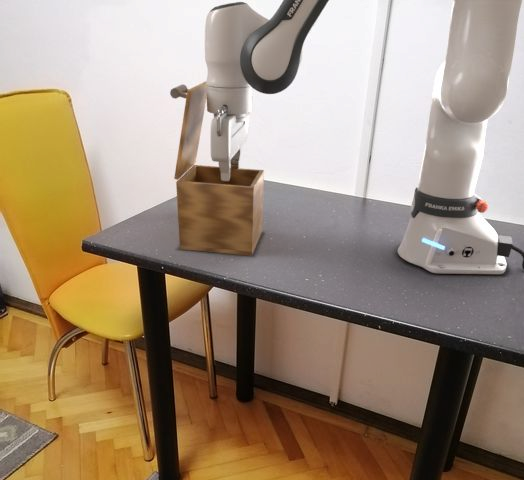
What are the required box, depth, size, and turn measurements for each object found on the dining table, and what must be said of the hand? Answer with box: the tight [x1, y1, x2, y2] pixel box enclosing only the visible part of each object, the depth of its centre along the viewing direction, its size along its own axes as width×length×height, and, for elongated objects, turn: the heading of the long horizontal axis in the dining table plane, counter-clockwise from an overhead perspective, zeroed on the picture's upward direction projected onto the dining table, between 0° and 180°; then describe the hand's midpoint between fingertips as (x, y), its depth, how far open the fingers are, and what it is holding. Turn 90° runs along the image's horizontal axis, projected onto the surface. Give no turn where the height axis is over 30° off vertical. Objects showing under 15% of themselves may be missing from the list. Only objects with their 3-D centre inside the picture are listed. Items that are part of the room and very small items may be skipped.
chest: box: [175, 164, 265, 257], centre depth 115 cm, size 16×14×14 cm
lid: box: [169, 80, 207, 181], centre depth 107 cm, size 17×14×5 cm
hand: (230, 174), depth 111 cm, fingers open, 8 cm apart
